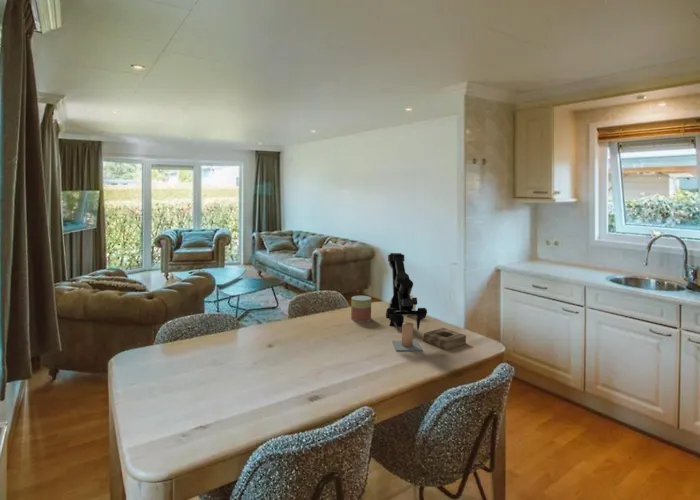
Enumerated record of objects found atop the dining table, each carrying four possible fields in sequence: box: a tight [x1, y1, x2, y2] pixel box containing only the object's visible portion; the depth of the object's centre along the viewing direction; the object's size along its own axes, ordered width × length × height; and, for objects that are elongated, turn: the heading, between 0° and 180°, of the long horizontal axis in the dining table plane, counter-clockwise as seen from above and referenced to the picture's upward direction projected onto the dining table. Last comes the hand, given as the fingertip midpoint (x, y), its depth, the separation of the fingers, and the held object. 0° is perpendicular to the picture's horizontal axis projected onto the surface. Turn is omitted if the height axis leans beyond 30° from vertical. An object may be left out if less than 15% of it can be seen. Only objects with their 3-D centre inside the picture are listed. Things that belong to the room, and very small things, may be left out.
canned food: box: [350, 295, 372, 323], centre depth 237 cm, size 11×11×12 cm
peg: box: [401, 322, 414, 347], centre depth 195 cm, size 5×5×10 cm
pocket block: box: [423, 327, 467, 351], centre depth 202 cm, size 14×14×4 cm
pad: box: [391, 339, 424, 352], centre depth 196 cm, size 12×12×1 cm
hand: (408, 329), depth 193 cm, fingers open, 9 cm apart
